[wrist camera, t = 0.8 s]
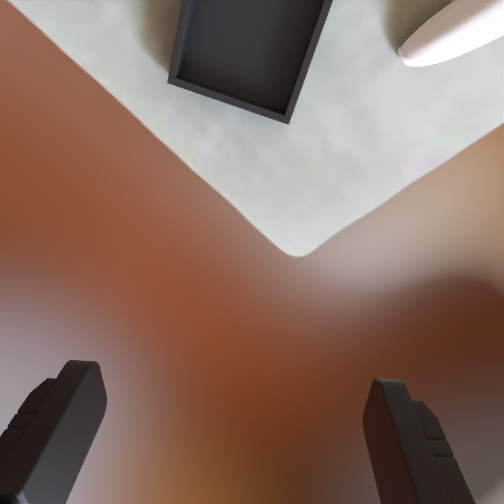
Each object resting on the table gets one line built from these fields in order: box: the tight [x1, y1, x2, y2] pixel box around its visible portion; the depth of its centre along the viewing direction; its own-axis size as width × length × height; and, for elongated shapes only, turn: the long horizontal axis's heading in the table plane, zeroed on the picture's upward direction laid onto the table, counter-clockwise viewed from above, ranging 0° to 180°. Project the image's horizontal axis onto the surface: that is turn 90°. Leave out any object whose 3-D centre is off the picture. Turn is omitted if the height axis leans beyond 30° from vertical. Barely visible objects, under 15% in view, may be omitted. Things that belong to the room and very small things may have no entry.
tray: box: [167, 0, 333, 124], centre depth 28 cm, size 15×11×2 cm
